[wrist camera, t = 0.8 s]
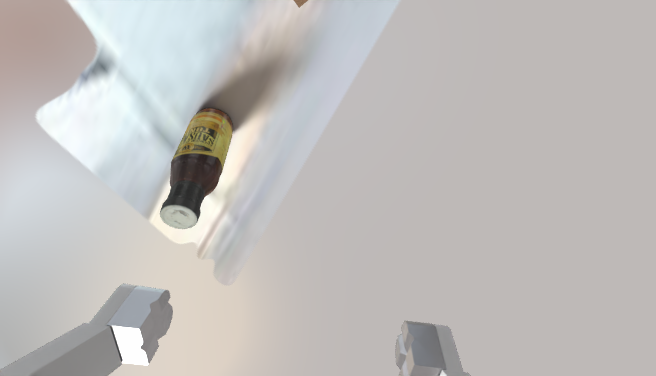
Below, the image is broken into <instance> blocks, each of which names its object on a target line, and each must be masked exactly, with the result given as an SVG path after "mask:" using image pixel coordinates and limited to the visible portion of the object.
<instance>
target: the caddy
mask: <svg viewBox="0 0 656 376" xmlns="http://www.w3.org/2000/svg"><path fill="white" fill-rule="evenodd" d="M294 1H295V3H296V4H297V5H298V7H301V6H302V5H303V4H304V3H305V2H306V1H308V0H294Z"/></svg>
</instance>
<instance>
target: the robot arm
mask: <svg viewBox="0 0 656 376" xmlns="http://www.w3.org/2000/svg"><path fill="white" fill-rule="evenodd" d="M169 299H170V293H169V291H168V290H162V289H156V288H150V287H144V286H137V285H130V284H122V285H120V286H119V287H118V288H117V289H116V290H115V291H114V293H113V294H112V295H111V296H110V298H109V299H108V300H107V301H106V303H105V304H104V305H103V306H102V308H101V309H100V310H99V311H98V313H97V314H96V315H95V316H94V318H93V319H92V320H91V321H90V323H84V324H82V325H80V326H78V327H76V328H74V329H73V330H71V331H69V332H67V333H65V334H64V335H62V336H60V337H58V338H56V339H54V340H53V341H51V342H49V343H47V344H46V345H44V346H42V347H40V348H38V349H37V350H35V351H33V352H31V353H29V354H27V355H26V356H24V357H22V358H21V359H18V360H17V361H15V362H13V363H11V364H9V365H8V366H6V367H4V368H2V369H1V370H0V376H108V375H109V374H110V373H111V372H113V371H114V370H115V369H117V368H118V367H119V366H120V365H121V364H122V363H133V364H142V365H149V363H150V361H151V360H152V358H153V356H154V354H155V352H156V350H157V349H158V347H159V345H158V341H157V340H158V339H159V338H161V337H162V336H164V335H165V334H166V332H167V330H168V328H169V326H170V323H171V320H172V314H173V310H172V306H171V305H170V304H169V303H168V301H169ZM401 329H402V334H400V335H399V336H398V338H397V342H396V349H395V355H396V364H397V366H398V367H399V368H400V370H401V371H400V373H399V376H470V374H469V373H465V372H463V368H462V365H461V362H460V358H459V355H458V352H457V349H456V345H455V342H454V339H453V336H452V332H451V329H450V328H449V327H448V326H442V325H435V324H429V323H420V322H412V321H404V322H403V324H402V327H401Z"/></svg>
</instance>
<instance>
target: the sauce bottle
mask: <svg viewBox="0 0 656 376" xmlns="http://www.w3.org/2000/svg"><path fill="white" fill-rule="evenodd" d="M232 132H233V126H232V122H231V120H230V118H229V117H228V116H227V115H226V114H225V113H224V112H222V111H220V110H217V109H210V108H208V109H203V110H201V111H200V112H198V113H197V114H196V115H195V116H194V117H193V118H192V120H191V121H190V124H189V126H188V128H187V130H186V132H185V134H184V136H183V138H182V140H181V142H180V144H179V146H178V149H177V151H176V153H175V155H174V157H173V159H172V162H171V176H170V186H171V190H170V194H169V196H168V198H167V200H166V201H165V202H164V203H163V205H162V208H161V211H160V217H161V219H162V220H163V221H164V223H166V224H167V225H169V226H171V227H174V228H178V229H187V228H191V227H193V226H194V225H196V223H197V221H198V219H199V216H200V206H201V203H202V201H203V199H204V197H205V196H207V195H208V194H210V193H211V192H212V191H213V190H214V189H215V188H216V186H217V184H218V181H219V177H220V175H221V173H222V170H223V166H224V163H225V159H226V156H227V152H228V149H229V145H230V142H231V138H232Z"/></svg>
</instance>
